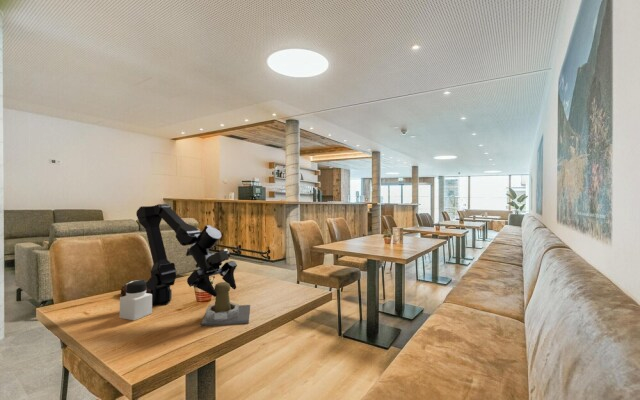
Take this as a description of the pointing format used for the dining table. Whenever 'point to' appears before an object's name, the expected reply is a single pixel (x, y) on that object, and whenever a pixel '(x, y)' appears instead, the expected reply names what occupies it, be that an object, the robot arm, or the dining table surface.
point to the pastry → (123, 290)
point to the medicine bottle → (135, 301)
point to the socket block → (227, 315)
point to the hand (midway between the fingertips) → (226, 292)
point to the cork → (222, 297)
